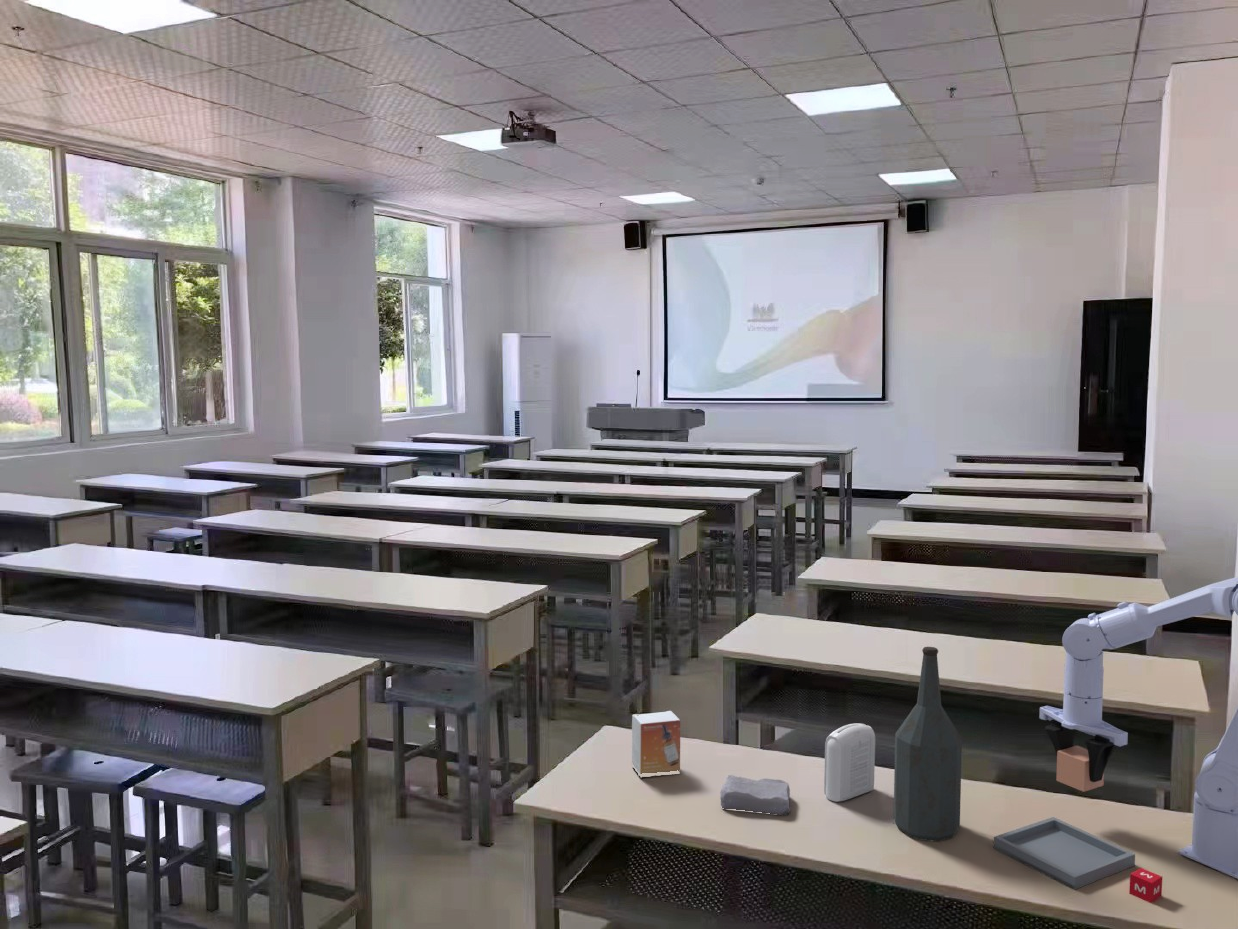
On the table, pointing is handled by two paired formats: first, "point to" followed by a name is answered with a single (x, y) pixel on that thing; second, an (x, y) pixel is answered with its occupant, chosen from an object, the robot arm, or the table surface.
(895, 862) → the table surface
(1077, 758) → the wooden cube
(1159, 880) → the red letter cube
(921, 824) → the bottle
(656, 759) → the small box
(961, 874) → the table surface
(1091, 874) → the tray
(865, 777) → the photo printer
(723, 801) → the stone block
